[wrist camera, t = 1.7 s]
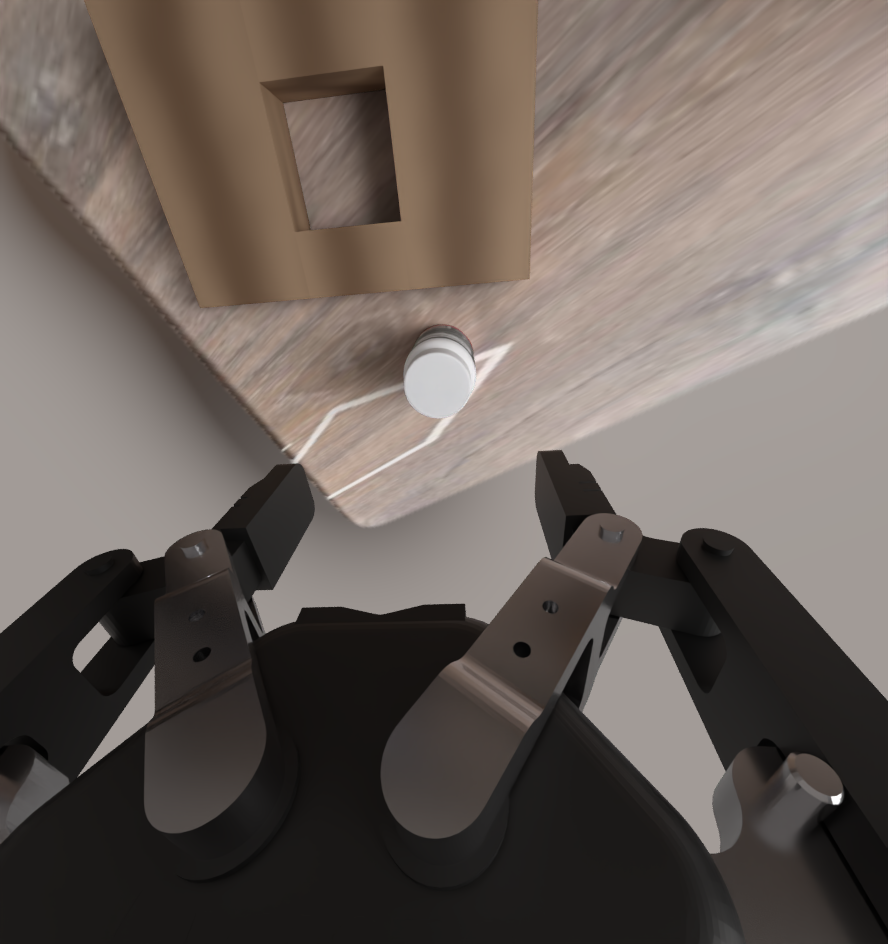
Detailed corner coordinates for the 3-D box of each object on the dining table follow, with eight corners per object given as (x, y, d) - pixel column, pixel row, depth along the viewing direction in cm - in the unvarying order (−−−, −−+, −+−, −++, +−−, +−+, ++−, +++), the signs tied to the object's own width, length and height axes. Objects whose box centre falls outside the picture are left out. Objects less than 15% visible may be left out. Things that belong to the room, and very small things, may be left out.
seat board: (529, -31, 19) (540, -76, 16) (522, 276, 26) (529, 279, 23) (130, 29, 21) (82, -3, 18) (224, 303, 28) (200, 308, 25)
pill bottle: (455, 395, 31) (453, 438, 23) (403, 367, 30) (384, 403, 22) (485, 342, 28) (493, 372, 21) (430, 311, 27) (419, 330, 20)
